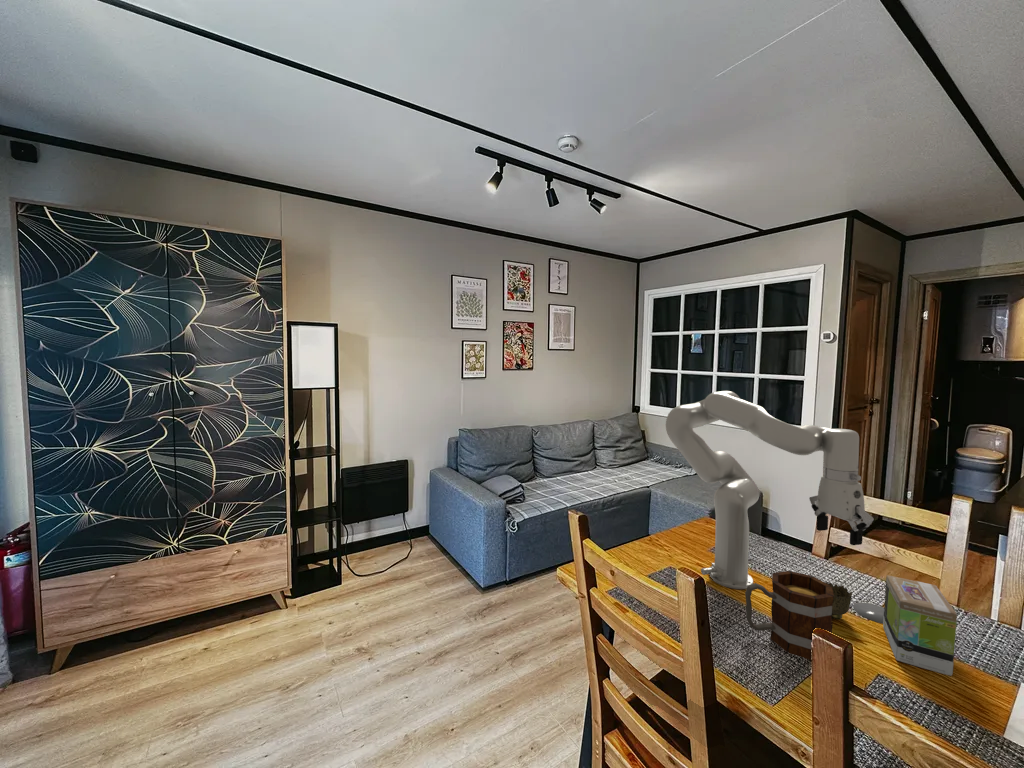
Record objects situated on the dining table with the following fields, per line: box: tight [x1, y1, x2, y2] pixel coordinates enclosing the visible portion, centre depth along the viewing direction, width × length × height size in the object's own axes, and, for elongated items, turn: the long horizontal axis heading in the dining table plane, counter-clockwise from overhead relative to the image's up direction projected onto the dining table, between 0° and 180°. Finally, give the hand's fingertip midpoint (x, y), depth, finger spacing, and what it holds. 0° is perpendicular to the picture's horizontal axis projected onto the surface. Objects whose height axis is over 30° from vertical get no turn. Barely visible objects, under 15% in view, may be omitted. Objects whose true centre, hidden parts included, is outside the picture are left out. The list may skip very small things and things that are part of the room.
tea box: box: [882, 574, 958, 677], centre depth 103 cm, size 15×10×15 cm, turn 148°
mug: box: [744, 570, 834, 661], centre depth 106 cm, size 20×14×15 cm
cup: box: [824, 581, 853, 621], centre depth 117 cm, size 8×7×8 cm
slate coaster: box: [852, 602, 884, 624], centre depth 118 cm, size 10×10×1 cm
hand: (838, 537), depth 115 cm, fingers open, 9 cm apart
